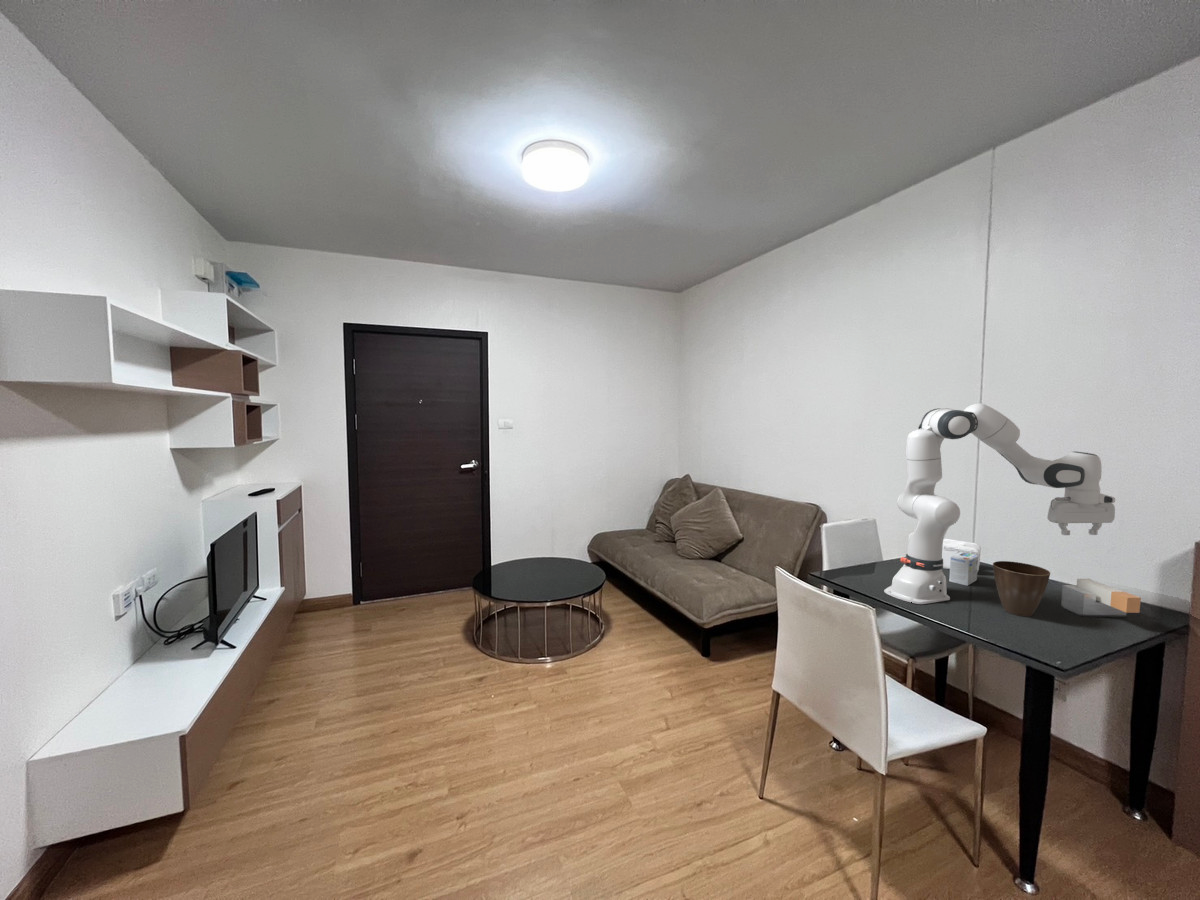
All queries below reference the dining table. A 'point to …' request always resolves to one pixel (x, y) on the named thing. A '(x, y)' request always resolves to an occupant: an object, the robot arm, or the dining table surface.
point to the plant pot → (1020, 586)
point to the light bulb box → (963, 568)
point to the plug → (1111, 596)
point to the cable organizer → (958, 550)
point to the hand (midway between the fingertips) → (1079, 534)
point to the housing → (1086, 603)
